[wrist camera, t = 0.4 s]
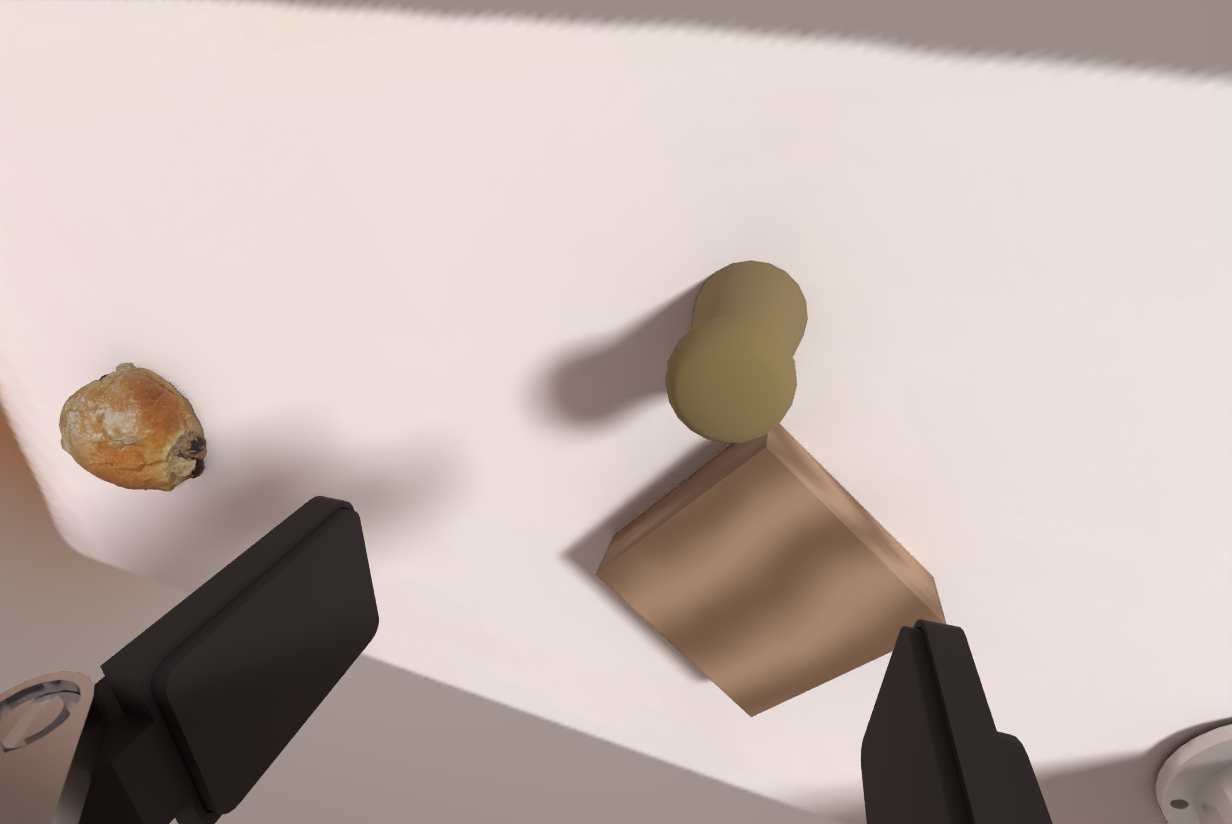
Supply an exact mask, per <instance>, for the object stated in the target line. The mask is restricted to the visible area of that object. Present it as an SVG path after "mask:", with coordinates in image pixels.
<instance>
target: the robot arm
mask: <svg viewBox="0 0 1232 824" xmlns="http://www.w3.org/2000/svg"><path fill="white" fill-rule="evenodd" d="M378 624H379V616H378V611H377V605H376V600H375V595H374V590H373V584H372V579H371V574H370V569H369V563H368V558H367V553H366V548H365V542H364V537H363V532H362V527H361V521H360V517H359V514H358V513H357V512H355V511H354V509H353V506H352V505H351V504H350V503H349V502H347V501H343V500H338V499H333V498H328V497H323V496H317V497H314V498H312V499H311V500H309V501H308V502H307V503H305V504H304V505H303V506H302V507H300V508H299V509H298V510H297V511H295V512H294V513H293V514H292V515H290V516H289V517H288V518H287V519H285V520H284V521H283V522H282V523H280V524H279V525H278V526H276V527H275V528H274V529H273V530H271V531H270V532H269V533H268V534H266V535H265V536H264V537H263V538H261V539H260V540H259V541H258V542H256V543H255V544H254V545H252V546H251V547H250V548H249V549H247V550H246V551H245V552H244V553H242V554H241V555H240V556H239V557H237V558H236V559H235V560H234V561H232V562H231V563H230V564H228V565H227V566H226V567H225V568H223V569H222V570H221V571H220V572H218V573H217V574H216V575H215V576H213V577H212V578H211V579H210V580H208V581H207V582H206V583H204V584H203V585H202V586H201V587H199V588H198V589H197V590H196V591H194V592H193V593H192V594H191V595H189V596H188V597H187V598H186V599H184V600H183V601H182V602H181V603H179V604H178V605H177V606H175V607H174V608H173V609H172V610H170V611H169V612H168V613H167V614H165V615H164V616H163V617H162V618H160V619H159V620H158V621H157V622H155V623H154V624H153V625H151V626H150V627H149V628H148V629H146V630H145V631H144V632H143V633H142V634H140V635H139V636H138V637H137V638H135V639H134V640H133V641H131V642H130V643H129V644H127V645H126V646H125V647H124V648H122V649H121V650H120V651H119V652H117V653H116V654H115V655H114V656H112V657H111V658H110V659H109V660H107V661H106V662H105V663H104V664H102V665H101V666H100V667H101V668H102V671H103V673H104V675H105V677H103V678H102V679H101V680H100V681H99V682H97V683H96V684H95V685H94V684H93V682H92V680H91V679H90V677H89V676H87V675H85V674H82V673H80V672H70V671H62V672H57V673H51V674H45V675H42V676H39V677H36V678H33V679H30V680H28V681H25V682H23V683H21V684H19V685H17V686H15V687H13V688H11V689H9V690H7V691H5V692H3V693H2V694H0V824H169V823H170V822H171V821H172V820H173V819H174V818H176V820H177V822H178V823H179V824H215V823H216V822H217V820H218V819H219V818H220V817H221V815H222V814H227V813H229V812H231V811H232V810H233V809H235V808H236V807H237V805H238V804H239V803H240V802H241V801H242V800H243V799H244V797H245V796H246V795H247V793H248V792H249V791H250V790H251V788H252V787H253V786H254V785H255V784H256V782H257V781H258V780H259V779H260V777H261V776H262V775H263V774H264V772H265V771H266V770H267V769H268V768H269V766H270V765H271V764H272V763H273V761H274V760H275V759H276V758H277V756H278V755H279V754H280V753H281V751H282V750H283V749H284V747H286V745H287V744H288V743H289V741H290V740H291V739H292V738H293V737H294V735H295V734H296V733H297V732H298V730H299V729H300V728H301V726H302V725H303V724H304V723H305V722H306V721H307V719H308V718H309V717H310V716H311V714H312V713H313V712H314V711H315V709H316V708H317V707H318V706H319V704H320V703H321V702H322V701H323V700H324V698H325V697H326V696H327V695H328V693H329V692H330V691H331V690H332V688H333V687H334V686H335V685H336V683H337V682H338V681H339V680H340V678H341V677H342V676H343V675H344V674H345V672H346V671H347V670H348V668H349V667H350V666H351V665H352V664H353V662H354V661H355V660H356V659H357V657H358V656H359V655H360V654H361V652H362V651H363V650H364V649H365V648H366V646H367V645H368V644H369V643H370V641H371V640H372V639H373V637H374V636H375V633H376V631H377V628H378ZM861 770H862V780H863V790H864V800H865V809H866V819H867V824H1052V821H1051V818H1050V815H1049V813H1048V810H1047V807H1046V804H1045V802H1044V799H1043V796H1042V793H1041V791H1040V788H1039V785H1038V782H1037V780H1036V777H1035V774H1034V771H1033V768H1032V766H1031V763H1030V760H1029V757H1028V755H1027V753H1026V751H1025V749H1024V747H1023V744H1022V743H1021V742H1020V741H1019V740H1018V739H1017V737H1015V736H1013V735H1010V734H1006V733H1002V732H998V731H997V730H996V727H995V724H994V721H993V718H992V715H991V712H990V709H989V706H988V703H987V700H986V697H985V693H984V690H983V687H982V684H981V681H980V678H979V675H978V672H977V669H976V666H975V663H974V660H973V657H972V654H971V651H970V648H969V645H968V641H967V638H966V635H965V633H964V631H963V630H962V629H961V628H960V627H957V626H952V625H947V624H942V623H937V622H932V621H927V620H922V619H918V620H917V621H916V622H915V625H914V627H913V628H912V627H908V626H903V627H902V628H901V629H900V632H899V635H898V637H897V640H896V643H895V646H894V649H893V652H892V655H891V658H890V661H889V664H888V667H887V670H886V673H885V676H884V679H883V682H882V685H881V688H880V691H879V694H878V697H877V700H876V703H875V706H874V709H873V711H872V714H871V717H870V720H869V723H868V726H867V729H866V732H865V735H864V738H863V742H862V748H861ZM1155 787H1156V798H1157V801H1158V803H1159V806H1160V808H1161V810H1162V812H1163V814H1164V816H1165V818H1166V820H1167V821H1168V823H1169V824H1232V724H1229V725H1226V726H1222V727H1218V728H1216V729H1213V730H1211V731H1209V732H1206V733H1204V734H1201V735H1199V736H1197V737H1195V738H1194V739H1192V740H1190V741H1189V742H1187V743H1186V744H1184V745H1182V746H1181V747H1179V748H1178V749H1177V750H1176V751H1175V752H1174V753H1173V754H1172V755H1171V756H1170V757H1169V758H1168V759H1167V760H1166V762H1165V763H1164V765H1163V766H1162V768H1161V770H1160V771H1159V773H1158V777H1157V781H1156V785H1155Z"/></svg>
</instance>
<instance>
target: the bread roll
mask: <svg viewBox="0 0 1232 824" xmlns="http://www.w3.org/2000/svg"><path fill="white" fill-rule="evenodd" d="M59 427H60V432H61V433H62V439H61V445H62V449H64V450H65V451H66V452H68V453H69V454H70V455H71V456H72V457H73V459H74V460H75V461H76V462H77V463H78V464H79V465H80V466H82V467H83V468H84V469H85V470H87V471H88V472H90V473H92V474H93V475H95V476H96V477H98V478H100V479H102V480H104V481H107V482H110V483H113V484H115V485H116V486H119V487H123V488H127V489H144V490H147V489H153V490H156V489H158V490H162V491H172V490H173V489H174V487H175V486H176V485H178V484H179V483H181V482H182V481H184V480H186V479H188V478H196V477H198V476H199V475H201V473H202V471H203V470H204V466H203V458H204V457H205V456H206V453H207V450H206V440H205V438H204V433H203V428H202V426H201V424H200V422H199V420H198V419H197V417H196V414H195V413H194V410H193V408H192V405H191V404H190V402H189V401H188V399H187V398H184V397H183V396H182V395H181V394H180V393H179V392H178V391H177V390H176V389H175V388H174V387H173V386H172V385H171V384H170V383H169V382H167V381H166V380H165V379H163V378H162V377H160V376H159V375H157V374H156V373H154V372H151V371H149V370H147V369H144V368H136V367H135V366H134V365H133V364H132V363H124V364H120V365H119V366H117V367H116V372H112V373H110V374H106V375H104V376H102V377H101V378H100V380H95V381H93V382H91V383H89V384H87V385H86V386H84V387H82V388H81V389H79V390H78V391H77V392H76V393H74V394H73V395H72V396H70V397H69V399H68V400H67V401H66V402H65V404H64V406H63V409H62V411H61V416H60V423H59Z"/></svg>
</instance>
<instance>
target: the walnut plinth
mask: <svg viewBox="0 0 1232 824" xmlns="http://www.w3.org/2000/svg"><path fill="white" fill-rule="evenodd" d="M596 575H597V576H598V577H599V578H601V579H602V580H603V581H604V582H605V583H606V584H607V585H608V586H609V587H610V588H611V589H613V590H614V591H615V592H616V593H617V594H618V595H619V596H620V597H621V598H622V599H623V600H624V601H626V602H627V603H628V604H629V605H630V606H631V607H632V608H633V609H634V610H635V611H636V612H638V613H639V614H640V615H641V616H642V617H643V618H644V619H645V620H646V621H647V622H648V623H649V624H651V625H652V626H653V627H654V628H655V629H656V630H657V631H658V632H659V633H660V634H661V635H662V636H664V637H665V638H666V639H667V640H668V641H669V642H670V643H671V644H672V645H673V646H674V647H676V648H677V649H678V650H679V651H680V652H681V653H682V654H683V655H684V656H685V657H686V658H687V659H689V660H690V661H691V662H692V663H693V664H694V665H695V666H696V667H697V668H698V669H699V670H701V671H702V672H703V673H704V674H705V675H706V676H707V677H708V678H709V679H710V680H711V681H712V682H714V683H715V684H716V685H717V686H718V687H719V688H720V689H721V690H722V691H723V692H724V693H726V694H727V695H728V696H729V697H730V698H731V699H732V700H733V701H734V702H735V703H736V704H737V705H739V706H740V707H741V708H742V709H743V710H744V711H745V712H746V713H747V714H748V715H749V716H750V717H753V716H755V715H757V714H759V713H761V712H763V711H766V710H768V709H770V708H772V707H774V706H776V705H778V704H780V703H783V702H785V701H787V700H789V699H791V698H793V697H795V696H798V695H800V694H802V693H804V692H806V691H808V690H810V689H813V688H815V687H817V686H819V685H821V684H823V683H825V682H828V681H830V680H832V679H834V678H836V677H838V676H840V675H842V674H845V673H847V672H849V671H851V670H853V669H855V668H857V667H860V666H862V665H864V664H866V663H868V662H870V661H872V660H875V659H877V658H879V657H881V656H883V655H885V654H887V653H890V652H892V651H893V649H894V646H895V643H896V640H897V637H898V635H899V632H900V629H901V628H902V627H903V626H908V627H912V628H913V627H914V625H915V622H916V621H917V620H918V619H922V620H927V621H932V622H937V623H942V624H946V621H945V617H944V613H943V610H942V606H941V603H940V599H939V596H938V592H937V589H936V585H935V581H934V578H933V576H932V575H931V574H930V573H929V572H928V571H927V570H926V569H925V568H924V567H923V566H922V565H921V564H920V563H919V562H918V561H917V560H916V559H915V558H914V557H913V556H912V555H911V554H910V553H909V552H908V551H907V550H906V549H905V548H904V547H903V546H902V545H901V544H900V543H899V542H898V541H897V540H896V539H895V538H894V537H893V536H892V535H891V534H890V533H889V532H887V531H886V530H885V529H884V528H883V527H882V526H881V525H880V524H879V523H878V522H877V521H876V520H875V519H874V518H873V517H872V516H871V515H870V514H869V513H868V512H867V511H866V510H865V509H864V508H863V507H862V506H861V505H860V504H859V503H858V502H857V501H856V500H855V499H854V498H853V497H852V496H851V495H850V494H849V493H848V492H847V491H846V490H845V489H844V488H843V487H842V486H841V485H840V484H839V483H838V482H837V481H836V480H835V479H834V478H833V477H832V476H831V475H830V474H829V473H828V472H827V471H826V470H825V469H824V468H823V467H822V466H821V465H820V464H819V463H818V462H817V461H816V460H815V459H814V458H813V457H812V456H811V455H810V454H809V453H808V452H807V451H806V450H805V449H804V448H803V447H802V446H801V445H800V444H799V443H798V442H797V441H796V440H795V439H794V438H793V437H792V436H791V435H790V434H789V433H788V432H787V431H786V430H785V429H784V428H783V427H782V426H781V425H780V424H778V425H777V426H775V427H774V428H773V429H772V430H770V431H769V432H768V433H766V434H765V435H764V436H761V437H759V438H756V439H753V440H750V441H748V442H742V443H733V444H732V445H731V446H729V447H728V448H727V449H725V450H724V451H723V452H722V453H720V454H719V455H718V456H716V457H715V458H714V459H713V460H711V461H710V462H709V463H707V464H706V465H705V466H704V467H702V468H701V469H700V470H698V471H697V472H696V473H694V474H693V475H692V476H691V477H689V478H688V479H687V480H685V481H684V482H683V483H682V484H680V485H679V486H678V487H676V488H675V489H674V490H673V491H671V492H670V493H669V494H667V495H666V496H665V497H664V498H662V499H661V500H660V501H658V502H657V503H656V504H655V505H653V506H652V507H651V508H649V509H648V510H647V511H646V512H644V513H643V514H642V515H640V516H639V517H638V518H636V519H635V520H634V521H633V522H631V523H630V524H629V525H627V526H626V527H625V528H624V529H622V530H621V531H620V532H618V533H617V534H616V535H615V536H613V538H612V541H611V543H610V545H609V547H608V549H607V551H606V553H605V556H604V558H603V560H602V562H601V564H600V566H599V568H598V570H597V573H596Z"/></svg>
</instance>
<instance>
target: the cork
mask: <svg viewBox="0 0 1232 824" xmlns="http://www.w3.org/2000/svg"><path fill="white" fill-rule="evenodd" d="M807 319H808V318H807V307H806V300H805V298H804V296H803V294H802V291H801V289H800V287H799V285H798V284H797V283H796V282H795V281H794V280H793V279H792V278H791V277H790V276H789V275H788V274H787V273H786V272H785V271H783V270H781V269H779V268H777V267H775V266H773V265H772V264H770V263H764V262H757V261H745V262H739V263H732V264H730V265H729V266H727V267H725V268H723V269H721V270H719V271H717V272H715V273H714V274H713V275H712V276H711V277H710V278H709V279H708V280H707V281H706V282H705V283H704V284H703V286H702V288H701V290H700V292H699V294H698V296H697V298H696V301H695V307H694V313H693V320H692V328H691V330H690V331H689V332H688V333H687V334H686V335H685V336H683V337H682V338H681V339H680V340H679V342H678V343H677V345H676V347H675V349H674V351H673V353H672V355H671V357H670V359H669V360H668V366H667V372H666V387H667V393H668V398H669V402H670V404H671V406H672V408H673V410H674V411H675V413H676V415H677V417H678V418H679V419H680V420H681V421H682V422H683V423H684V424H685V425H686V426H687V427H688V428H689V429H690V430H691V431H693V432H695V433H697V434H699V435H700V436H702V437H704V438H706V439H708V440H713V441H717V442H722V443H742V442H748V441H750V440H753V439H756V438H759V437H761V436H764V435H765V434H766V433H768V432H769V431H770V430H772V429H773V428H774V427H775V426H777V425H778V424H779V423H780V422H781V420H782V419H783V417H784V416H785V414H786V413H787V411H788V410H789V408H790V407H791V405H792V403H793V399H794V395H795V391H796V387H797V379H796V370H795V361H794V359H793V355H794V353H795V351H796V349H797V347H798V345H799V343H800V341H801V339H802V337H803V335H804V331H805V327H806V323H807Z"/></svg>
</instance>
